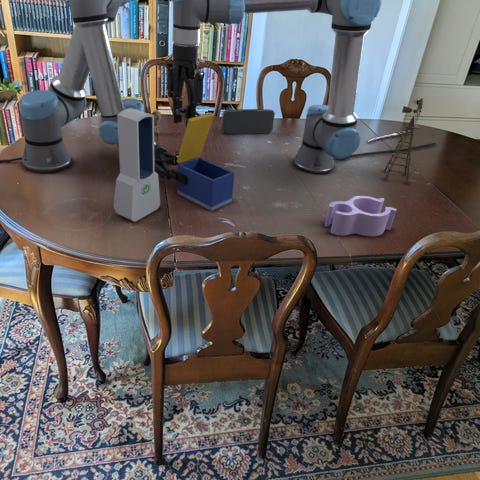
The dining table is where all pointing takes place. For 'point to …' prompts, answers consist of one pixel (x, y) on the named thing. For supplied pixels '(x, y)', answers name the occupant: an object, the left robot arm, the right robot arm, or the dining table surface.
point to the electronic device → (136, 166)
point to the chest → (206, 183)
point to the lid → (194, 135)
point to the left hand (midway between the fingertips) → (197, 175)
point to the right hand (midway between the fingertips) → (183, 124)
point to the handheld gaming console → (247, 121)
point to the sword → (385, 136)
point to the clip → (359, 216)
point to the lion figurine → (156, 117)
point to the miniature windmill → (411, 127)
